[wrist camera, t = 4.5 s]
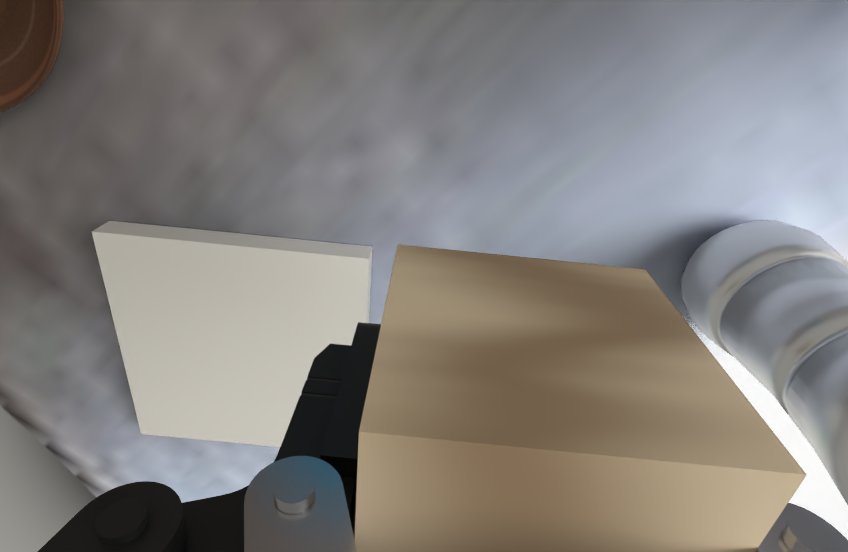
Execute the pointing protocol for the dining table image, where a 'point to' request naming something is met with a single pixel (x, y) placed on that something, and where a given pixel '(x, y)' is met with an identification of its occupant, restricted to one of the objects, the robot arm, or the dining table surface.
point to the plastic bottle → (781, 323)
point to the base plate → (226, 323)
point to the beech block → (554, 417)
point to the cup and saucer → (27, 46)
